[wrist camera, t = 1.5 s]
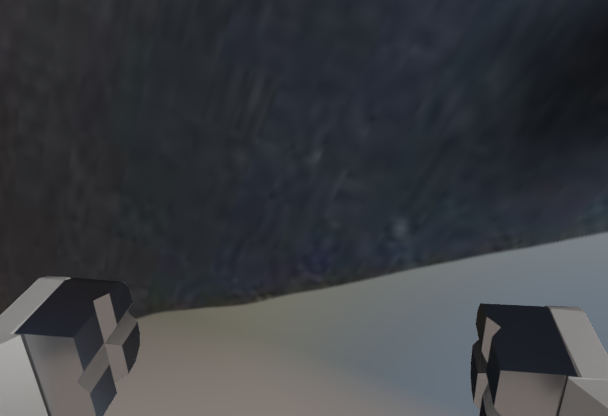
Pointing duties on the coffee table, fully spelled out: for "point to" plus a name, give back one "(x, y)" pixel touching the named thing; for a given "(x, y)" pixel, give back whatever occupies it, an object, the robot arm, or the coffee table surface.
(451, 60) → the coffee table surface
